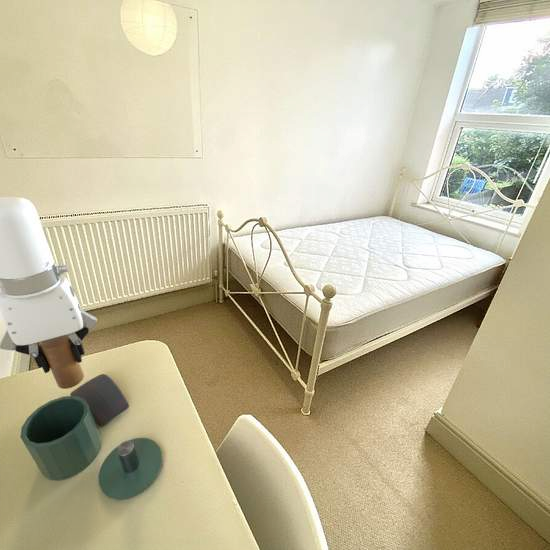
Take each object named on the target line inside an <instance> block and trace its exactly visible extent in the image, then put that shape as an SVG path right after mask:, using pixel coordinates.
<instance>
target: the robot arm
mask: <svg viewBox="0 0 550 550" xmlns="http://www.w3.org/2000/svg"><path fill="white" fill-rule="evenodd" d="M65 273H69V269H68V265H67V264H58V263H56V260H54V258H53V254H52V251H51V248H50V245H49V243H48V240H47V237H46V234H45V231H44V229H43V226H42V222H41V219H40V216H39V214H38V211H37V209H36V207H35V205H34V203H33V202H31V201H30V200H29V199H26V198H24V197H17V196H0V312H1V315H2V319H3V321H4V325H5V327H6V330H5V333H4V334H3V337H2V339H1V340H0V349H1V350H5V351H15V352H17V353H20V354H24V355H28V356H29V357H30V358H32V359H34V361H35V363H36V366H37V368H38V369H40V368H42V370H43V373H44V374H48V373H49V372H51V369H50V367H49V364H48V362H47V360H46V357H45V355H44V353H43V351H42V348H41V346H40V343H41V342H42V341H44V340H48V339H52V338H55V337H59V336H63V335H67V336H68V337H69V338H70V340H71V341H72V350H73V353H74V355H75V358H76V361H77V362H78V363H80V364H81V363H82V362H83V361H82V360H83V359H82V356H84V355H86V352H85V348H84V346H83V342H82V341H83V340H84V339H85V337H86V336H87V335H88V334H89V332H90V330H93V328H95V327H96V326H97V325H98V318H97V317H96V316H94V315H92V314H91V313H90V312H89V313H88V312H87V311H85V310H83V309H82V308H81V305H80V303H79V299H78V297H77V295H76V293H75V291H74V289H73V287H72V284H71V283H70V282H69V279H68V278H67V277H66V276H65Z"/></svg>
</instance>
